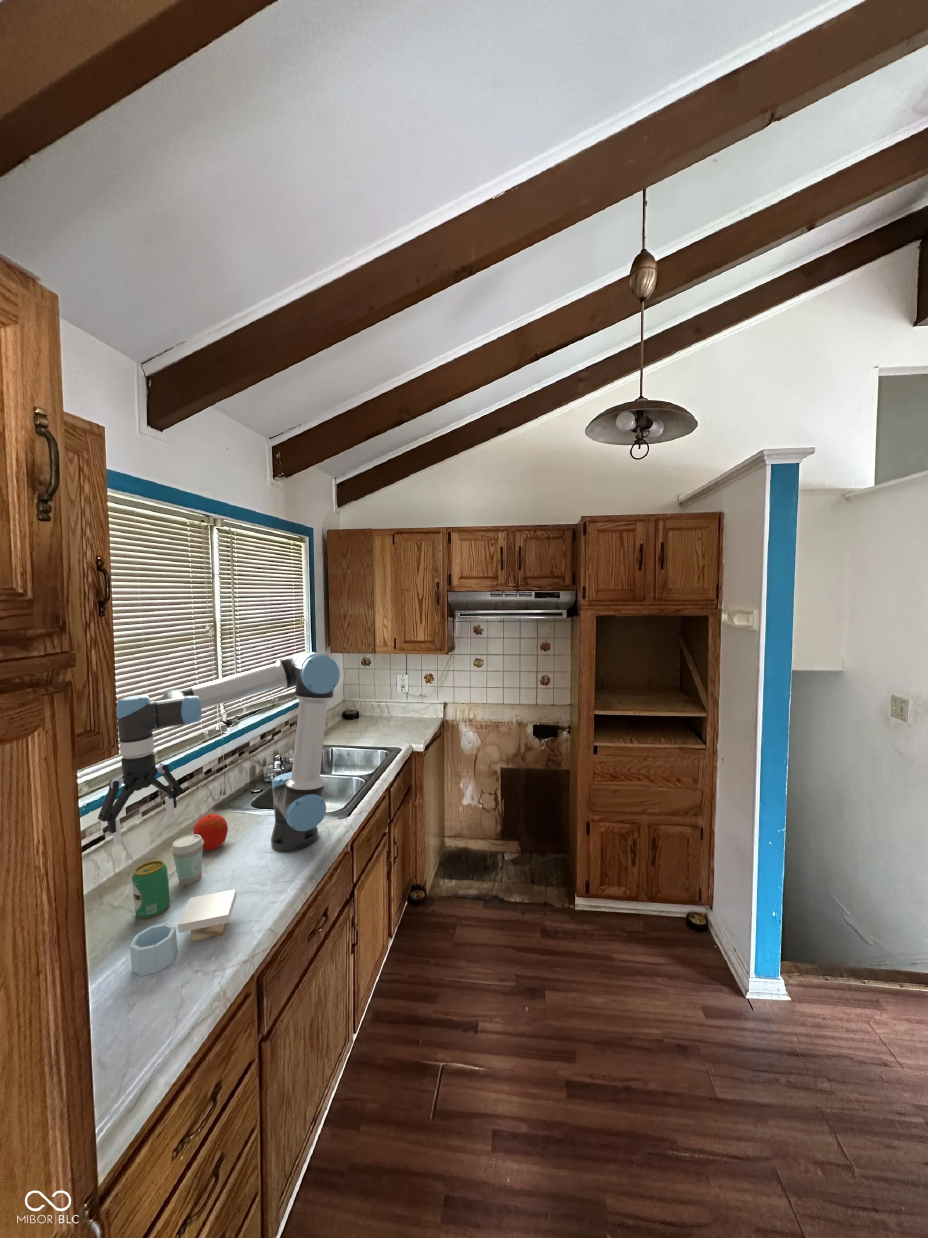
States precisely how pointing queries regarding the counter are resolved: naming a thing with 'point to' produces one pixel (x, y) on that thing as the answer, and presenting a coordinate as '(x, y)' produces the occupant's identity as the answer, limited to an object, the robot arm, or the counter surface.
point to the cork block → (207, 932)
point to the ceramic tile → (207, 910)
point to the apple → (211, 831)
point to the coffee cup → (188, 858)
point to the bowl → (153, 949)
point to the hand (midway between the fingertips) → (145, 831)
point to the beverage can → (151, 889)
